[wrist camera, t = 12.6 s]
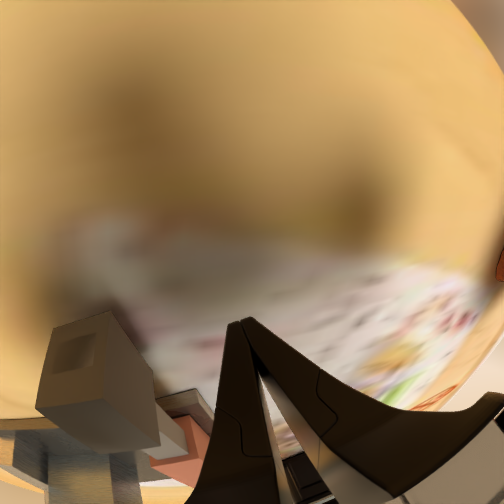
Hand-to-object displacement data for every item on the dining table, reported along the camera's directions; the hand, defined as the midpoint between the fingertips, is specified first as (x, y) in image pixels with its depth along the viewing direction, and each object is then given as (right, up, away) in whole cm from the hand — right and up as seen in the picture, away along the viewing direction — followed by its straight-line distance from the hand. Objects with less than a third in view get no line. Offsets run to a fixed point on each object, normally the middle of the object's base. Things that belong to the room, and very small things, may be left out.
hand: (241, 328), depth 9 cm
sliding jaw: (-4, -9, +6) cm, 11 cm away
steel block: (-13, -16, +7) cm, 22 cm away
